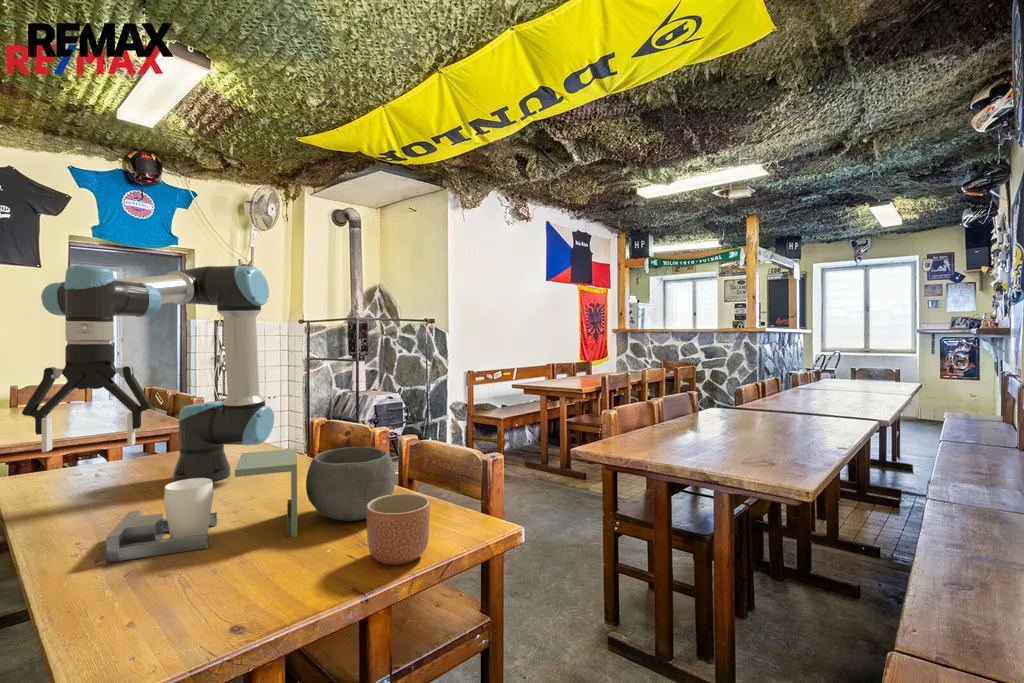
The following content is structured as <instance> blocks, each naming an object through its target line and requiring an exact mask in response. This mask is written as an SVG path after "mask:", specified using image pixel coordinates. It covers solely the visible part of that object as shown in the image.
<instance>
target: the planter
mask: <svg viewBox="0 0 1024 683" xmlns="http://www.w3.org/2000/svg"><path fill="white" fill-rule="evenodd" d="M430 514H431V503H430V499H429V498H427V497H426V496H425V495H424V496H423V495H420V494H415V493H394V494H391V495H386V496H382V497H378V498H376V499H373V500H372V501H370V502H369V503H368V504H367V508H366V518H365V520H366V534H367V535H366V536H367V539H366V540H367V548H368V550H369V553H370V555H371V557H372V558H373V559H375V560H376V561H377V562H380V563H381V564H384V565H389V566H401V565H406V564H409V563H413V562H414V561H415V560H417V559H418V558H419V557H421V556H422V555H423V553H424V552H425V551H426V549H427V547H428V545H429V538H430V519H431V515H430Z"/></svg>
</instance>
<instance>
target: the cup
mask: <svg viewBox="0 0 1024 683" xmlns="http://www.w3.org/2000/svg"><path fill="white" fill-rule="evenodd" d="M213 483H214V482H212V480H211V479H208V478H193V479H185V480H180V481H176V482H173V481H172V482H170V483H167V484H166V485H165V486H164V498H163V502H164V503H163V504H164V509H165V516H166V519H167V521H168V527H169V531H168V533H169V537H170V538H169V539H171V538H178V537H186V536H193V535H201V534H208V535H209V527H210V526H209V521H210V514H211V513H212V506H213V499H214V487H213Z"/></svg>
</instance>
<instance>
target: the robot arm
mask: <svg viewBox="0 0 1024 683" xmlns="http://www.w3.org/2000/svg"><path fill="white" fill-rule="evenodd" d="M64 276H65V277H64V278H65V280H64V281H60V282H53V283H52V282H51V283H49V284H48V285H46V286H45V287H44V288H43V290H42V291H41V295H40V297H41V298H40V299H41V304H42V306H43V308H44V309H45V310H46V311H47V312H48V313H50V314H52V315H55V316H63V317H65V320H64V322H65V323H64V325H65V327H64V328H65V329H64V330H65V331H64V332H65V333H64V334H65V341H66V342H69V344H67V343H66V345H65V348H64V349H65V350H64V351H65V356H64V357H65V365H64V367H63V368H58V367H57V368H56V367H54V366H52V367H51V366H50V367H46V368H44V370H43V376H42V379H41V381H40V383H39V385H38V386H37V387H36V389H35V390H34V393H33V394H32V395H31V396H30V397H31V398H30V399H29V400H28V402H27V403H26V405H25V407H24V408H23V409H22V411H21V414H22V415H23V416H25V417H27V416H28V417H32V418H33V419H34V422H35V424H34V425H35V426H34V427H35V431H34V432H35V434H36V435H38V436H39V435H41V453H46V452H49V451H51V450H53V416H48V415H49V414H50V413H51V412H52V411H53V410H54V409H55V408H56V407H57V406H58V405H59V404H60V403H61V402H62V401H63V400H64V399H66V397H67V396H69V394H70V393H71V392H73V391H75V389H78V390H87V389H90V390H91V389H92V390H100V389H102V388H104V389H105V390H106V391H108V392H109V393H110V394H111V395H112V396H113V397H114V398H116V400H118V401H119V402H120V403H121V404H122V405H123V406H124V407H125V408H127V409H128V410H129V411H130V413H128V414H127V419H126V421H127V423H126V424H127V425H126V426H127V427H126V428H127V429H126V430H127V433H126V434H127V437H126V438H127V447H133V446H134V445H135V444H136V429H141V426H142V412H144V411H148V410H149V409H151V408H152V407H153V405H152V402H151V401H150V399H149V398H148V396H147V395H146V393H145V392H144V390H143V388H142V386H141V385H140V384H139V382H138V380H137V379H136V377H135V375H134V374H135V373H134V367H133V366H132V365H127V366H122V367H116V366H115V364H114V363H115V361H114V360H115V359H114V357H115V354H114V353H115V352H114V350H115V348H114V347H115V346H114V345H113V344H112V343H111V342H113V341H115V340H114V338H115V337H114V334H115V333H114V331H115V330H114V329H115V328H114V323H115V322H114V318H115V317H137V318H138V317H139V318H141V317H151V316H153V315H155V314H156V313H158V311H160V309H161V307H162V305H163V304H170V303H172V304H174V305H201V306H202V305H206V306H216V311H217V313H218V314H219V315H221V316H222V317H223V335H224V353H225V354H224V356H225V372H226V374H225V375H226V392H227V397H226V398H225V399H224V400H213V401H209V402H207V401H206V402H201V403H195V404H189V405H184V406H183V407H182V408H180V410H179V418H178V430H179V432H178V434H179V457H178V459H177V461H176V464H175V466H174V470H173V473H172V483H173V482H176V481H180V480H185V479H193V478H208V479H211V480H212V483H214V482H217V481H221V480H223V479H225V478H228V477H229V476H231V466H230V463H229V460H228V458H227V455H226V453H225V445H227V446H228V445H231V446H232V445H234V446H235V445H236V446H237V445H240V446H247V447H248V446H254V445H257V446H258V445H260V444H263V443H264V442H265V441H266V440H267V439H268V438H269V436H270V434H271V433H272V431H273V428H274V424H275V413H274V411H273V408H272V407H270V406H267V405H266V399H265V397H263V396H262V395H261V394H260V381H259V379H260V378H259V360H258V358H259V357H258V354H259V353H258V336H257V316H258V315H259V314H260V313H261V312H262V306H263V305H265V304H266V303H267V302H268V301H269V295H270V288H269V283H268V280H267V278H266V277H265V275H264V274H263V272H262V271H261V270H259V269H258V268H257V267H254V266H247V265H220V266H218V265H215V266H212V265H208V266H199V267H193V268H188V269H182V270H172V271H170V272H167V273H166V274H164V275H152V276H141V277H140V276H139V277H127V278H126V277H123V278H115V277H114V271H113V270H112V269H110V268H107V267H103V266H96V265H95V266H93V265H71V266H69V267H67V268H66V271H65V275H64ZM116 374H118V375H119V376H120V377H121V378H123V379H124V381H125V383H126V384H127V386H128V388H129V389H130V391H131V392H132V394H133V395H134V397H135V399H136V401H137V402H138V403H137V402H135V400H134V399H132V397H130V396H129V395H128V394H127V393H126V392H125V391H124V390H123V389H122V388H121V387H120V386H119V385H118V384H117V383H116V382H115V381H114V380H113V378H114V377H115V375H116ZM61 375H63V376H64V378H65V379H66V380H67V382H65V384H64V385H63V386H62V387H60V389H59V390H58V391H57V392H56V393H55V394H54V395H53V396H52V397H51V398H50V399H49V400H48V401H46V402H45V404H44V405H42V406H41V407H40V405H41V403H42V402H43V401H44V399H45V397H46V396H47V395H48V393H49V391H50V389H51V388H52V386H53V385H54V383H55V381H56V379H59V378H60V376H61ZM39 407H40V408H39ZM38 408H39V409H38Z"/></svg>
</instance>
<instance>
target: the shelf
mask: <svg viewBox="0 0 1024 683" xmlns="http://www.w3.org/2000/svg"><path fill="white" fill-rule="evenodd" d="M297 452H298V451H297V448H290V449H277V450H266V451H265V450H264V451H254V452H253V451H250V452H242V453H241V454H240V457H239V459H238V462H237V464H236V465H235V468H234V478H238V477H239V478H241V477H249V476H250V477H251V476H259V475H269V474H270V475H271V474H281V473H288V472H289V473H290V484H291V485H290V488H291V489H290V497H291V498H290V499H287V501H286V502H287V505H286V506H287V507H286V508H287V517H286V539H291V538H297V537H298V453H297Z"/></svg>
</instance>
